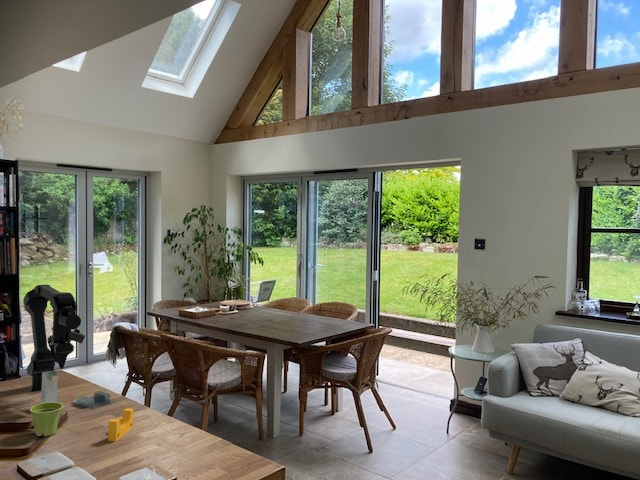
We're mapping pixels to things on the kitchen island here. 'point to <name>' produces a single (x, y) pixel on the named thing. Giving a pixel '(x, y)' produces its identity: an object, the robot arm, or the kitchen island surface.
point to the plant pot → (46, 417)
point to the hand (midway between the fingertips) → (59, 365)
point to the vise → (94, 400)
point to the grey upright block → (49, 386)
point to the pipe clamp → (120, 425)
